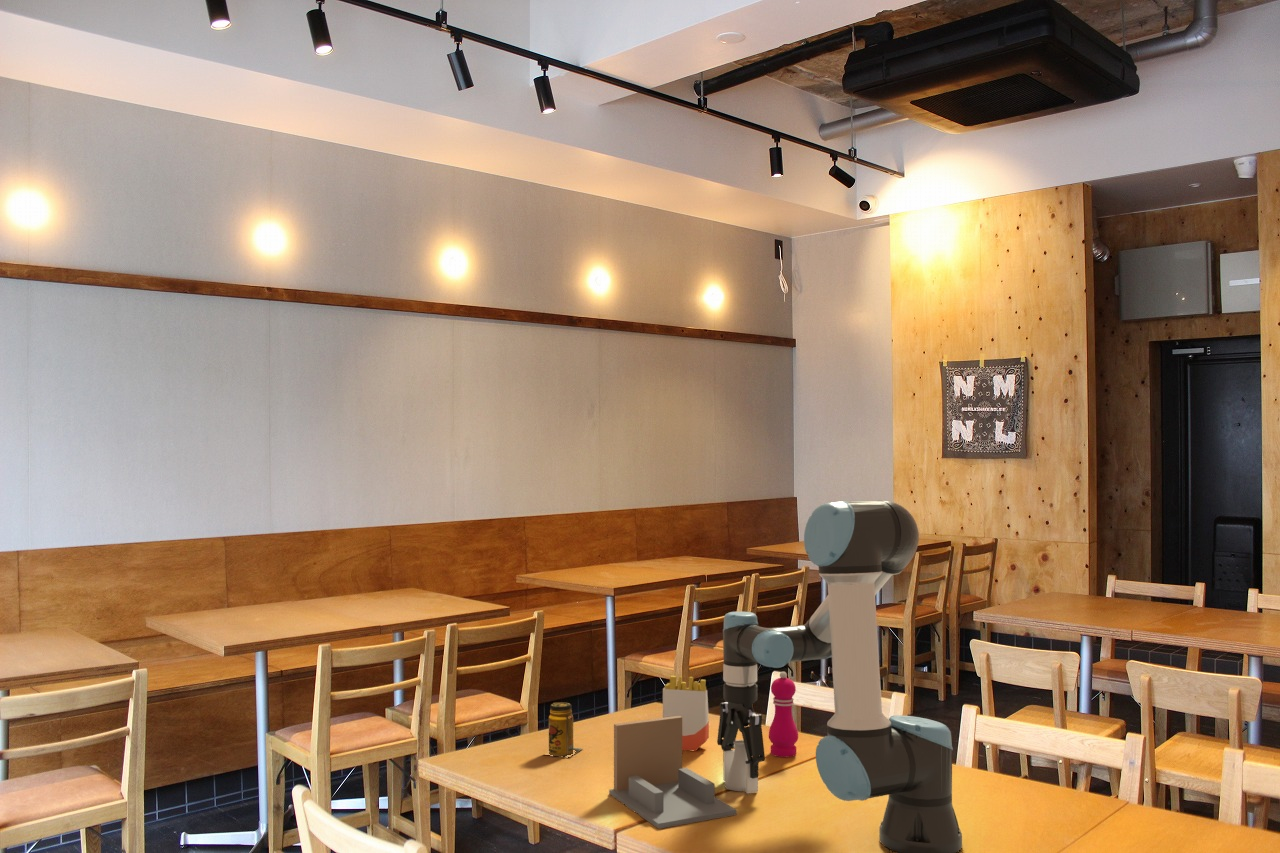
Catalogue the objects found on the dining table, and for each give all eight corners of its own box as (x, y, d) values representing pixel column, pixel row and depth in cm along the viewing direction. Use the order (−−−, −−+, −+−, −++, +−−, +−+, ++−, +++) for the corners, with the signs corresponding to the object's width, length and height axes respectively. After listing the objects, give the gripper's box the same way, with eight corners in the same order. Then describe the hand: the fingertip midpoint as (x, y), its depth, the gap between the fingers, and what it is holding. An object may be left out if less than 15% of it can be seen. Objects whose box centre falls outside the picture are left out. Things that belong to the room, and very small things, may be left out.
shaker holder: (736, 814, 212) (736, 740, 212) (658, 828, 204) (658, 751, 204) (682, 782, 232) (682, 715, 233) (609, 794, 224) (609, 724, 225)
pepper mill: (778, 747, 260) (778, 667, 260) (803, 753, 255) (803, 671, 256) (762, 754, 254) (762, 672, 255) (788, 759, 250) (788, 676, 250)
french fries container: (666, 743, 263) (666, 672, 264) (709, 746, 261) (709, 674, 261) (662, 748, 259) (662, 676, 259) (705, 752, 256) (705, 678, 257)
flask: (755, 793, 225) (755, 747, 225) (722, 791, 227) (722, 745, 227) (758, 783, 232) (758, 738, 232) (726, 781, 234) (726, 736, 234)
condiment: (542, 755, 253) (542, 706, 253) (556, 746, 261) (556, 698, 261) (569, 758, 250) (569, 708, 251) (583, 749, 258) (583, 700, 259)
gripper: (782, 691, 222) (782, 797, 222) (729, 671, 241) (729, 770, 241) (752, 694, 219) (752, 803, 218) (701, 675, 238) (701, 774, 237)
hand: (740, 785), depth 229 cm, fingers open, 8 cm apart
